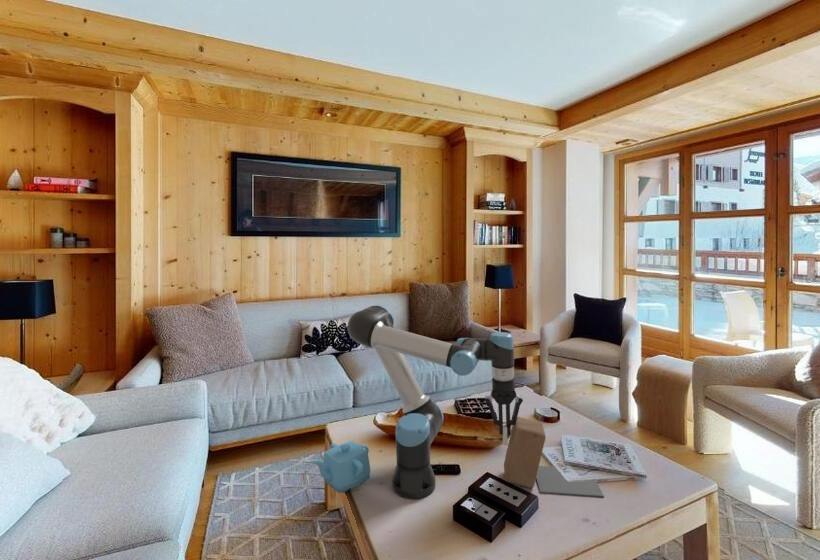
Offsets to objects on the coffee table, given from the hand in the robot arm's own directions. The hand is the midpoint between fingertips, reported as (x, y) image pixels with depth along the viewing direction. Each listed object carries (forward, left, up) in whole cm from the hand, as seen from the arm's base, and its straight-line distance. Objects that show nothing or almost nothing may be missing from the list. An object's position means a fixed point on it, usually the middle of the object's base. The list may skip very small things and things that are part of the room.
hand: (505, 443), depth 136 cm
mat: (+21, +1, -13) cm, 25 cm away
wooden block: (+4, 0, -13) cm, 13 cm away
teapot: (-57, -9, -14) cm, 59 cm away
